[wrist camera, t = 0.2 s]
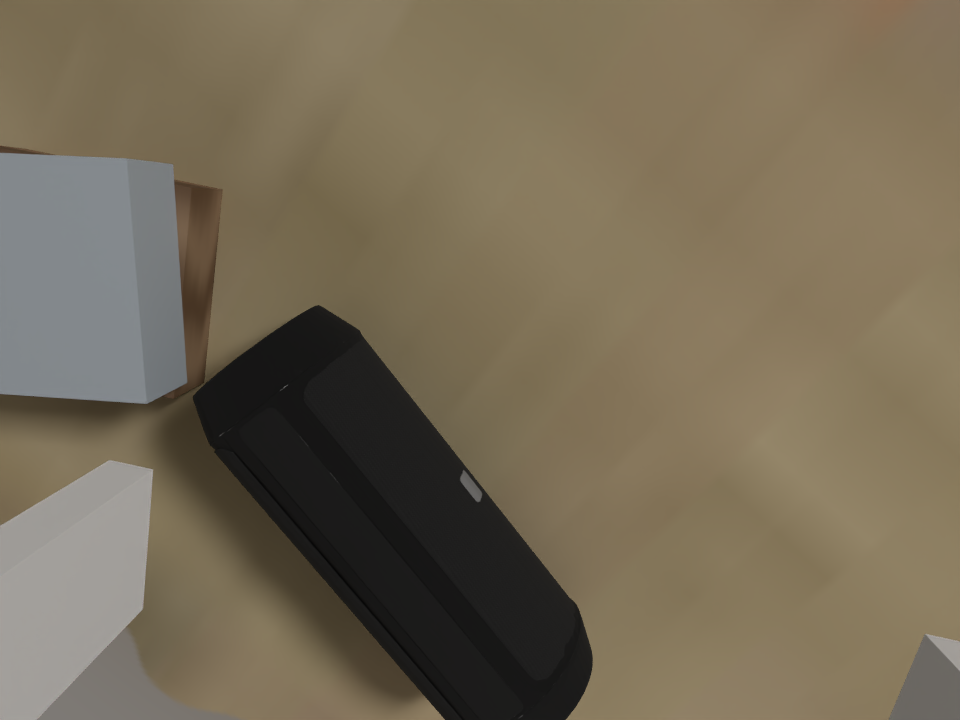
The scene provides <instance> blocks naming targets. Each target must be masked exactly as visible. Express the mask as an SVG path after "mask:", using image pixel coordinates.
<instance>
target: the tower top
mask: <svg viewBox="0 0 960 720" xmlns="http://www.w3.org/2000/svg"><path fill="white" fill-rule="evenodd" d="M186 383H187V371H186V355H185V340H184V325H183V309H182V294H181V279H180V263H179V248H178V233H177V218H176V202H175V187H174V172H173V164H167V163H159V162H151V161H143V160H135V159H126V158H104V157H81V156H59V155H37V154H14V153H0V394H9V395H24V396H38V397H53V398H68V399H83V400H98V401H112V402H127V403H142V404H147V403H149V402H151V401H153V400H155V399H157V398H159V397H161V396H163V395H165V394H167V393H169V392H171V391H173V390H175V389H176V388H178V387H180V386H182V385H184V384H186Z"/></svg>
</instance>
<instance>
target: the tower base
mask: <svg viewBox="0 0 960 720" xmlns="http://www.w3.org/2000/svg"><path fill="white" fill-rule="evenodd" d="M0 153H14V154H37V155H53V154H48V153H43V152H38V151H33V150H28V149H22V148H14V147H5V146H0ZM174 187H175V202H176V218H177V233H178V248H179V263H180V279H181V294H182V309H183V325H184V340H185V355H186V371H187V383H186V384H184V385H182V386H180V387H178V388H176V389H175V390H173V391H171V392H169V393H167V394H165V395H163V396H162V397H167V398H172V399H174V398H176V397H178V396H180V395H182V394H184V393H186V392H187V391H189V390H191V389H193V388H195V387H197V386H199V385H200V384H202V383H204V377H205V367H206V356H207V346H208V336H209V325H210V315H211V304H212V294H213V283H214V273H215V263H216V252H217V242H218V231H219V221H220V210H221V200H222V189H217V188H212V187H207V186H203V185H198V184H193V183H188V182H183V181H178V180H174Z"/></svg>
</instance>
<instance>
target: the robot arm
mask: <svg viewBox="0 0 960 720" xmlns="http://www.w3.org/2000/svg"><path fill="white" fill-rule="evenodd" d="M152 478H153V469H149V468H144V467H140V466H135V465H130V464H125V463H121V462H116V461H111V460H109V461H107V462H105V463H104V464H102V465H101V466H99V467H97V468H96V469H94V470H92V471H91V472H89V473H87V474H86V475H84V476H82V477H81V478H79V479H77V480H76V481H74V482H72V483H71V484H69V485H67V486H66V487H64V488H62V489H61V490H59V491H57V492H56V493H54V494H52V495H51V496H49V497H47V498H46V499H44V500H42V501H41V502H39V503H37V504H36V505H34V506H32V507H31V508H29V509H27V510H26V511H24V512H22V513H21V514H19V515H17V516H16V517H14V518H13V519H11V520H9V521H8V522H6V523H4V524H3V525H1V526H0V720H37V719H38V718H39V717H40V716H41V715H42V714H43V713H44V712H45V711H46V710H47V708H48V707H49V706H50V705H51V704H52V703H53V702H54V701H55V700H56V699H57V698H58V697H59V696H60V695H61V694H62V693H63V692H64V691H65V690H66V689H67V688H68V687H69V686H70V685H71V684H72V682H73V681H74V680H75V679H76V678H77V677H78V676H79V675H80V674H81V673H82V672H83V671H84V670H85V669H86V668H87V667H88V666H89V665H90V664H91V663H92V661H94V659H95V658H96V657H97V656H98V655H99V654H100V653H101V652H102V651H103V650H104V649H105V648H106V647H107V646H108V645H109V644H110V643H111V642H112V641H113V640H114V639H115V638H116V636H117V635H118V634H119V633H120V632H121V631H122V630H123V629H124V628H125V627H126V626H127V625H128V624H129V623H130V622H131V621H132V620H133V619H134V618H135V617H136V616H137V615H138V614H139V613H140V612H141V610H142V609H143V601H144V587H145V573H146V560H147V546H148V533H149V519H150V506H151V492H152ZM889 720H960V641H956V640H951V639H946V638H942V637H937V636H932V635H928V634H925V635H924V637H923V640H922V642H921V644H920V647H919V649H918V652H917V654H916V656H915V659H914V661H913V663H912V666H911V668H910V670H909V673H908V675H907V678H906V680H905V682H904V685H903V687H902V689H901V692H900V694H899V696H898V699H897V701H896V704H895V706H894V708H893V711H892V713H891V715H890V718H889Z"/></svg>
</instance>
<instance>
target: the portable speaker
mask: <svg viewBox="0 0 960 720" xmlns="http://www.w3.org/2000/svg"><path fill="white" fill-rule="evenodd" d="M193 400H194V403H195V406H196V409H197V412H198V414H199V417H200V420H201V423H202V426H203V429H204V431H205V434H206V437H207V439H208V442H209V444H210V446H212V447H213V448H214V449H215V450H216V451H215V453H216V454H217V456H218V457H219V458H220V459H221V460H222V461H223V463H224V464H225V465H226V466H227V467H228V469H229V470H230V471H231V472H232V473H233V474H234V476H235V477H236V478H237V479H238V480H239V481H240V483H241V484H242V485H243V486H244V487H245V488H246V490H247V491H248V492H249V493H250V494H251V495H252V496H253V498H254V499H255V500H256V501H257V502H258V503H259V505H260V506H261V507H262V508H263V509H264V510H265V512H266V513H267V514H268V515H269V516H270V517H271V519H272V520H273V521H274V522H275V523H276V524H277V525H278V527H279V528H280V529H281V530H282V531H283V532H284V534H285V535H286V536H287V537H288V538H289V539H290V541H291V542H292V543H293V544H294V545H295V546H296V547H297V549H298V550H299V551H300V552H301V553H302V554H303V556H304V557H305V558H306V559H307V560H308V561H309V563H310V564H311V565H312V566H313V567H314V568H315V570H316V571H317V572H318V573H319V574H320V575H321V576H322V578H323V579H324V580H325V581H326V582H327V583H328V585H329V586H330V587H331V588H332V589H333V590H334V592H335V593H336V594H337V595H338V596H339V597H340V598H341V600H342V601H343V602H344V603H345V604H346V605H347V607H348V608H349V609H350V610H351V611H352V612H353V614H354V615H355V616H356V617H357V618H358V619H359V620H360V622H361V623H362V624H363V625H364V626H365V627H366V629H367V630H368V631H369V632H370V633H371V634H372V636H373V637H374V638H375V639H376V640H377V641H378V643H379V644H380V645H381V646H382V647H383V648H384V649H385V651H386V652H387V653H388V654H389V655H390V656H391V658H392V659H393V660H394V661H395V662H396V663H397V665H398V666H399V667H400V668H401V669H402V670H403V671H404V673H405V674H406V675H407V676H408V677H409V678H410V680H411V681H412V682H413V683H414V684H415V685H416V687H417V688H418V689H419V690H420V691H421V692H422V693H423V695H424V696H425V697H426V698H427V699H428V700H429V702H430V703H431V704H432V705H433V706H434V707H435V709H436V710H437V711H438V712H439V713H440V714H441V716H442V717H443V718H444V719H445V720H566V719H567V717H568V716H569V715H570V714H571V712H572V711H573V710H574V708H575V707H576V706H577V704H578V702H579V701H580V699H581V697H582V696H583V694H584V692H585V689H586V687H587V685H588V682H589V679H590V676H591V671H592V661H593V658H592V650H591V647H590V644H589V640H588V637H587V634H586V630H585V627H584V624H583V620H582V617H581V615H580V611H579V609H578V607H577V605H576V604H575V602H574V601H573V600H572V599H570V598H569V597H568V595H567V594H566V593H565V591H564V590H563V589H562V588H561V586H560V585H559V584H558V583H557V581H556V580H555V579H554V578H553V576H552V575H551V574H550V573H549V571H548V570H547V569H546V567H545V566H544V565H543V564H542V562H541V561H540V560H539V559H538V557H537V556H536V555H535V554H534V552H533V551H532V550H531V549H530V547H529V546H528V545H527V543H526V542H525V541H524V540H523V538H522V537H521V536H520V535H519V533H518V532H517V531H516V530H515V528H514V527H513V526H512V524H511V523H510V522H509V521H508V519H507V518H506V517H505V516H504V514H503V513H502V512H501V511H500V509H499V508H498V507H497V506H496V504H495V503H494V502H493V500H492V499H491V498H490V497H489V495H488V494H487V493H486V492H485V490H484V489H483V488H482V487H481V485H480V484H479V483H478V482H477V480H476V479H475V478H474V476H473V475H472V474H471V473H470V471H469V470H468V469H467V468H466V466H465V465H464V464H463V463H462V461H461V460H460V459H459V458H458V456H457V455H456V454H455V452H454V451H453V450H452V449H451V447H450V446H449V445H448V444H447V442H446V441H445V440H444V439H443V437H442V436H441V435H440V434H439V432H438V431H437V430H436V428H435V427H434V426H433V425H432V423H431V422H430V421H429V420H428V418H427V417H426V416H425V415H424V413H423V412H422V411H421V409H420V408H419V407H418V406H417V404H416V403H415V402H414V401H413V399H412V398H411V397H410V396H409V394H408V393H407V392H406V391H405V389H404V388H403V387H402V385H401V384H400V383H399V382H398V380H397V379H396V378H395V377H394V375H393V374H392V373H391V372H390V370H389V369H388V368H387V367H386V365H385V364H384V363H383V361H382V360H381V359H380V358H379V356H378V355H377V354H376V353H375V351H374V350H373V349H372V348H371V346H370V345H369V344H368V343H367V341H366V340H365V339H364V337H363V336H362V334H361V332H360V331H359V330H358V329H357V328H355V327H353V326H352V325H350V324H349V323H347V322H345V321H344V320H342V319H341V318H339V317H337V316H336V315H334V314H333V313H331V312H329V311H328V310H326V309H325V308H323V307H321V306H319V305H317V306H314V307H312V308H310V309H308V310H307V311H305V312H303V313H301V314H300V315H298V316H297V317H295V318H293V319H292V320H290V321H289V322H287V323H286V324H284V325H283V326H281V327H280V328H278V329H277V330H275V331H274V332H272V333H271V334H269V335H268V336H267V337H265V338H264V339H263V340H261V341H260V342H258V343H257V344H256V345H254V346H253V347H252V348H250V349H249V350H248V351H246V352H245V353H243V354H242V355H241V356H239V357H238V358H237V359H235V360H234V361H233V362H232V363H230V364H229V365H228V366H226V367H225V368H224V369H223V370H221V371H220V372H219V373H218V374H216V375H215V376H214V377H213V378H212V379H211V380H209V381H208V382H207V383H206V384H205V385H204V386H203V387H202V388H201V389H199V390H198V391H197V393H196V394H195V395H194V396H193Z"/></svg>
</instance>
